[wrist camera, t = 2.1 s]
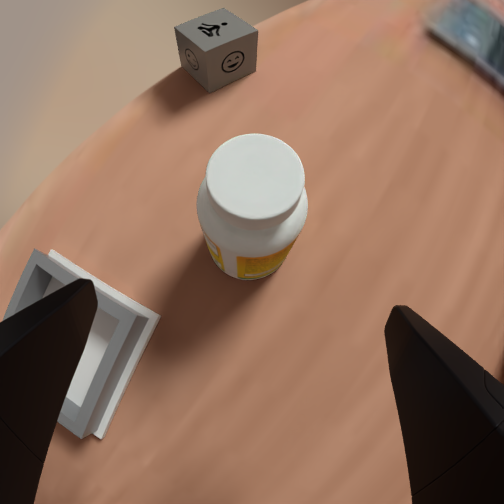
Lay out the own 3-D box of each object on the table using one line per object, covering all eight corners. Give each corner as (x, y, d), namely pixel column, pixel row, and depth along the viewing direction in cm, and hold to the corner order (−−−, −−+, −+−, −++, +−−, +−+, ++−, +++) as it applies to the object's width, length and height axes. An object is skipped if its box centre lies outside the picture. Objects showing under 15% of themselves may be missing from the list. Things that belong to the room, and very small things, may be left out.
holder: (104, 437, 18) (85, 449, 15) (8, 360, 19) (-17, 360, 16) (161, 315, 20) (148, 311, 17) (55, 251, 21) (33, 238, 18)
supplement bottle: (195, 260, 21) (161, 200, 12) (231, 193, 23) (225, 104, 13) (268, 295, 21) (289, 260, 12) (301, 225, 22) (338, 150, 13)
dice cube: (181, 66, 26) (174, 27, 21) (225, 46, 27) (223, 7, 22) (209, 93, 25) (205, 51, 20) (255, 71, 26) (258, 30, 21)
